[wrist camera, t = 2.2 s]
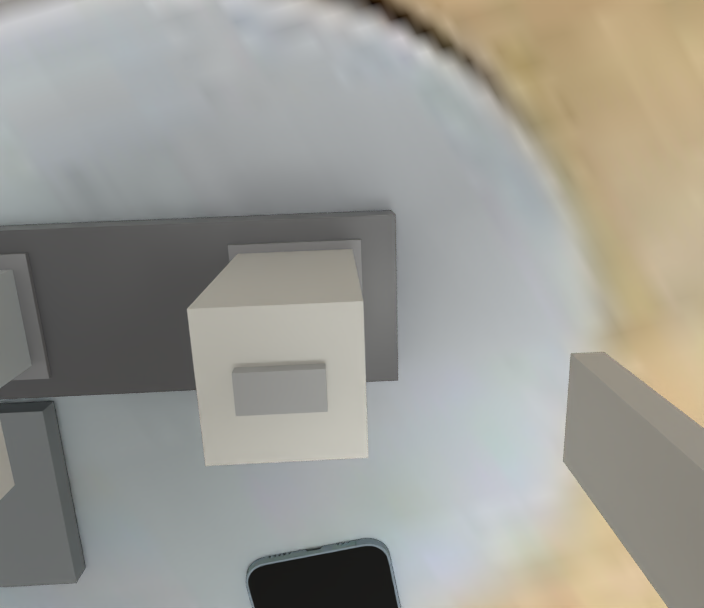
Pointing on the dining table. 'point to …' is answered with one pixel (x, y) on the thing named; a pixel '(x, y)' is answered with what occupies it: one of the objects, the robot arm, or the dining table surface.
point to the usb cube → (11, 331)
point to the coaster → (37, 502)
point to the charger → (281, 359)
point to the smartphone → (325, 578)
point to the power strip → (167, 293)
